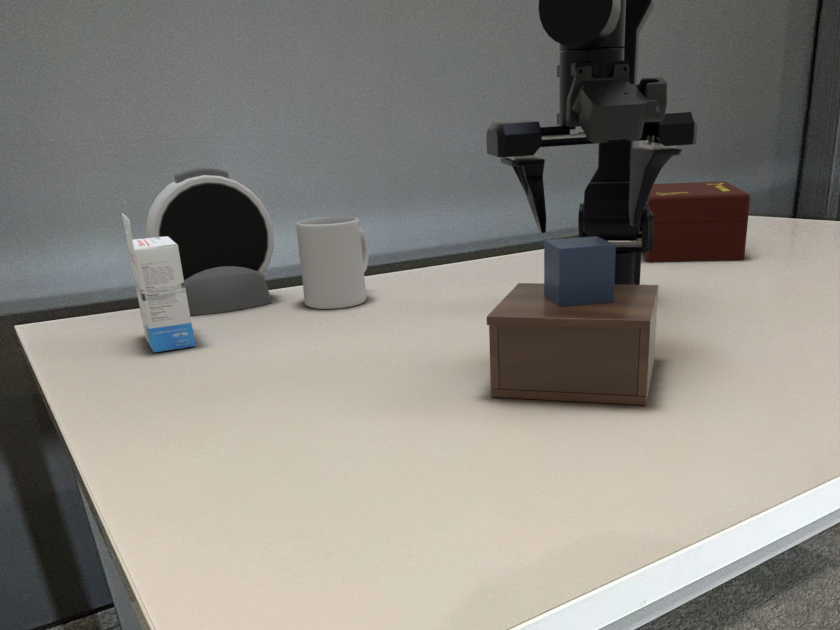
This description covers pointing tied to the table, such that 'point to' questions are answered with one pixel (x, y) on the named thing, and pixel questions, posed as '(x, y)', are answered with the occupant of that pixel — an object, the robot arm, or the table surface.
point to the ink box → (160, 291)
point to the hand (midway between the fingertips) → (588, 229)
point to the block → (579, 271)
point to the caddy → (572, 363)
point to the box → (698, 222)
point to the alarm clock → (216, 239)
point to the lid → (576, 309)
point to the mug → (332, 261)
